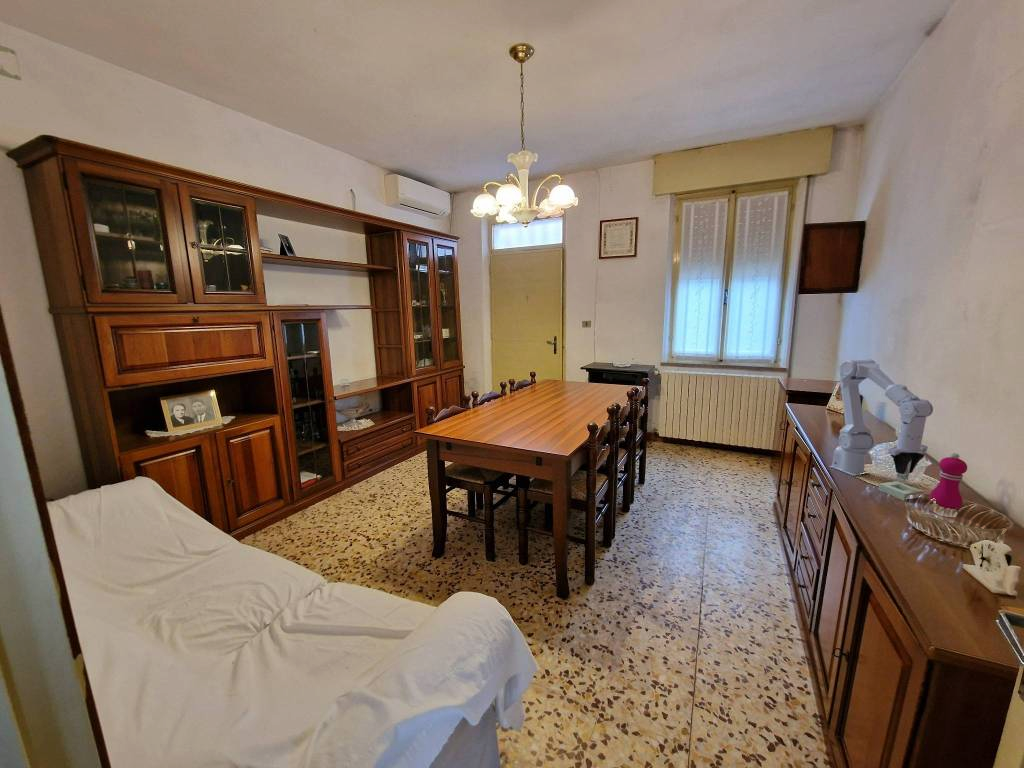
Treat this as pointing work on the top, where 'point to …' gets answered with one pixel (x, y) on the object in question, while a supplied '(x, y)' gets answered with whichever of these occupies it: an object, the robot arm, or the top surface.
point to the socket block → (899, 490)
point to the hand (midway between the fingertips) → (903, 472)
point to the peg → (906, 474)
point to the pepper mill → (949, 482)
